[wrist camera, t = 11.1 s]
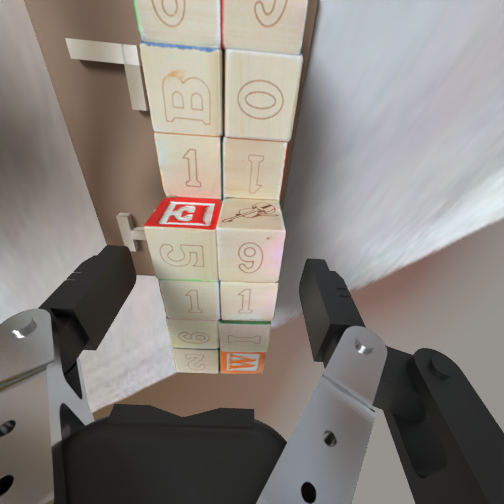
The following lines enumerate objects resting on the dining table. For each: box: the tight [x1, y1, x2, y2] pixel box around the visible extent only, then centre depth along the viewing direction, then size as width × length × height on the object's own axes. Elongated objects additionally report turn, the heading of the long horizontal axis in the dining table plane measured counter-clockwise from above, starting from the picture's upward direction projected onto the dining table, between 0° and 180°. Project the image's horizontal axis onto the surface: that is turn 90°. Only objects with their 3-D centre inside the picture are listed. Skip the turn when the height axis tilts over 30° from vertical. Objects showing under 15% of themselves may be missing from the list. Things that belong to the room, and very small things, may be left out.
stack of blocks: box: [133, 0, 309, 374], centre depth 15 cm, size 21×6×12 cm, turn 176°
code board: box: [24, 0, 318, 276], centre depth 20 cm, size 18×24×1 cm
